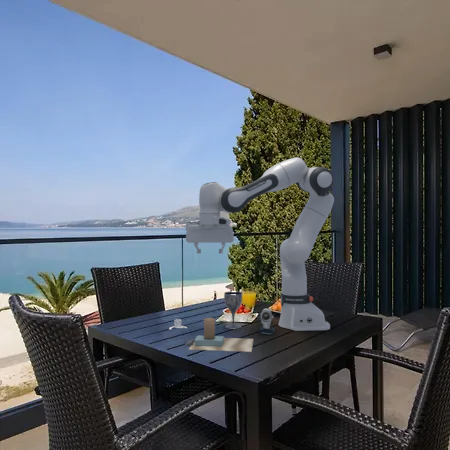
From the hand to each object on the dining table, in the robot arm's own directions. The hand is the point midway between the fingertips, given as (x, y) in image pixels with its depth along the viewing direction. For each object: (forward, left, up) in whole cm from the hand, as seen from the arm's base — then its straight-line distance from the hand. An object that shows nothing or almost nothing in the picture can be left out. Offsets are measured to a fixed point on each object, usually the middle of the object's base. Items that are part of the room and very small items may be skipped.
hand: (209, 253), depth 161 cm
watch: (-24, +4, -33) cm, 41 cm away
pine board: (-8, +21, -33) cm, 40 cm away
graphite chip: (+4, +21, -32) cm, 39 cm away
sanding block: (-3, +21, -32) cm, 38 cm away
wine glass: (-9, -9, -33) cm, 36 cm away
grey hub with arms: (+17, -1, -34) cm, 38 cm away
